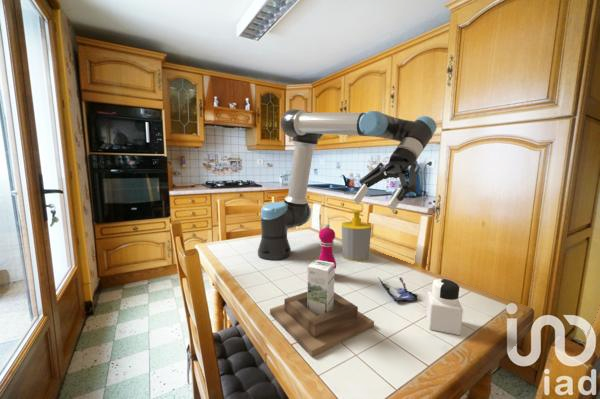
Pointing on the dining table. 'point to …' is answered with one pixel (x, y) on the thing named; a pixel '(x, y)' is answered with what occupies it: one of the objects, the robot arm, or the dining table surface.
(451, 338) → the dining table surface
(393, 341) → the dining table surface
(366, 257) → the soap bottle
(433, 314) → the white bottle
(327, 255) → the pepper mill
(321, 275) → the syrup box
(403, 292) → the snack package
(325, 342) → the walnut holder
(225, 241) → the dining table surface
